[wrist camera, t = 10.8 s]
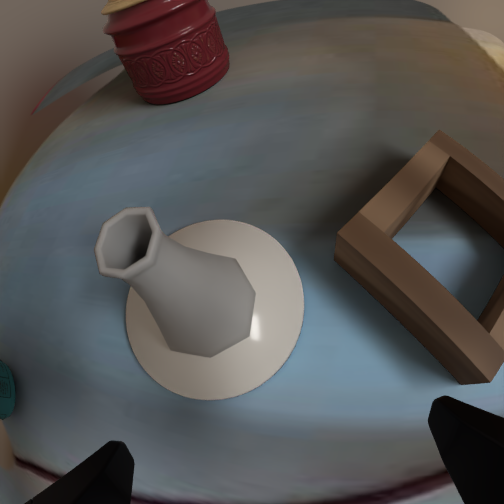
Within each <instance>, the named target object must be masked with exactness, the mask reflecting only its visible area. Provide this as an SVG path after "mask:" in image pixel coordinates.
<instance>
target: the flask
mask: <svg viewBox="0 0 504 504" xmlns="http://www.w3.org/2000/svg"><path fill="white" fill-rule="evenodd" d="M94 252H95V256H96V261H97V265H98V269H99V273H100V274H101V275H102V276H105V277H112V278H120V279H122V280H123V281H125V282H126V283H128V284H129V285H130V286H131V287H132V288H133V289H134V290H135V291H136V293H137V294H138V295H139V296H140V297H141V298H142V299H143V300H144V301H145V303H146V305H147V307H148V309H149V311H150V312H151V314H152V316H153V318H154V320H155V321H156V323H157V325H158V327H159V329H160V331H161V333H162V335H163V337H164V339H165V341H166V343H167V345H168V347H169V348H170V350H171V351H176V352H181V353H186V354H192V355H197V356H203V357H209V358H211V357H213V356H215V355H217V354H219V353H221V352H222V351H224V350H226V349H228V348H230V347H231V346H233V345H235V344H237V343H239V342H240V341H242V340H244V339H246V338H248V337H249V336H250V330H251V324H252V317H253V310H254V303H255V296H256V292H255V290H254V289H253V287H252V285H251V284H250V282H249V280H248V279H247V277H246V275H245V273H244V272H243V270H242V268H241V267H240V265H239V263H238V261H237V260H236V259H235V258H231V257H226V256H221V255H216V254H211V253H207V252H203V251H200V250H196V249H192V248H189V247H185V246H183V245H182V244H180V243H178V242H176V241H175V240H173V239H171V238H170V237H168V236H166V235H165V234H164V233H163V232H162V231H161V229H160V226H159V224H158V222H157V219H156V217H155V214H154V212H153V210H152V209H151V208H150V207H131V208H125V209H123V210H122V211H120V212H119V213H117V214H116V215H114V216H113V217H111V218H110V219H108V220H107V221H105V222H104V223H103V225H102V227H101V230H100V233H99V236H98V239H97V242H96V245H95V248H94Z"/></svg>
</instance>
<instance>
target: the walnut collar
mask: <svg viewBox="0 0 504 504" xmlns="http://www.w3.org/2000/svg"><path fill="white" fill-rule="evenodd" d="M435 188H437V189H438V190H440V191H441V192H442V193H443V194H445V195H446V196H447V197H448V198H450V199H451V200H452V201H453V202H454V203H455V204H457V205H458V206H459V207H460V208H461V209H462V210H464V211H465V212H466V213H467V214H468V215H469V216H470V217H472V218H473V219H474V220H475V221H476V222H477V223H478V224H479V225H480V226H481V227H482V228H483V229H485V230H486V231H487V232H488V233H489V234H490V235H491V236H492V237H493V238H494V239H495V240H496V241H497V242H498V243H499V244H500V245H501V246H502V247H503V248H504V179H503V178H501V177H500V176H499V175H498V174H497V173H496V172H495V171H493V170H492V169H491V168H490V167H489V166H487V165H486V164H485V163H484V162H482V161H481V160H480V159H479V158H477V157H476V156H475V155H474V154H472V153H471V152H470V151H468V150H467V149H466V148H464V147H463V146H462V145H460V144H459V143H458V142H456V141H455V140H454V139H452V138H451V137H449V136H448V135H446V134H445V133H444V132H442V131H441V130H438V131H437V132H436V133H435V134H434V136H433V137H432V138H431V139H430V140H429V141H428V142H427V143H426V144H425V145H424V146H423V147H422V148H421V149H420V150H419V151H418V152H417V153H416V154H415V156H414V157H413V158H412V159H411V160H410V161H409V162H408V163H407V164H406V165H405V166H404V167H403V168H402V169H401V170H400V171H399V172H398V173H397V174H396V175H395V176H394V177H393V178H392V179H391V180H390V181H389V182H388V183H387V184H386V185H385V186H384V187H383V188H382V189H381V190H380V191H379V192H378V193H377V194H376V195H375V196H374V197H373V198H372V199H371V200H370V201H369V202H368V203H367V204H366V205H365V206H364V207H363V208H362V209H361V210H360V211H359V212H358V213H357V214H356V215H355V216H354V217H353V218H352V219H351V220H350V221H349V222H348V223H347V224H346V225H344V226H343V227H342V228H341V229H340V230H339V231H338V232H337V237H336V245H335V253H334V261H336V262H337V263H338V264H339V265H340V266H341V267H342V268H343V269H344V270H345V271H346V272H348V273H349V274H350V275H351V276H352V277H353V278H354V279H355V280H356V281H357V282H358V283H359V284H361V285H362V286H363V287H364V288H365V289H366V290H367V291H368V292H369V293H370V294H371V295H372V296H373V297H374V298H375V299H376V300H377V301H379V302H380V303H381V304H382V305H383V306H384V307H385V308H386V309H387V310H388V311H389V312H390V313H391V314H392V315H393V316H394V317H395V318H396V319H397V320H398V321H399V322H400V323H401V324H402V325H403V326H404V327H405V328H406V329H407V330H408V331H409V332H410V333H411V334H412V335H413V336H414V337H415V338H416V339H417V340H418V341H419V342H420V343H421V344H422V345H423V346H424V347H425V348H426V349H427V350H428V351H429V352H430V353H431V354H432V355H433V356H434V357H435V358H436V359H437V360H438V361H439V362H440V363H441V364H442V365H443V366H444V367H445V368H446V369H447V370H448V371H449V372H450V373H451V374H452V375H453V377H454V378H455V379H456V380H457V381H458V382H459V383H460V384H461V385H468V384H480V383H490V382H491V381H492V380H493V378H494V376H495V375H496V373H497V372H498V370H499V369H500V367H501V365H502V364H503V362H504V275H503V277H502V279H501V281H500V282H499V284H498V286H497V288H496V290H495V292H494V293H493V295H492V297H491V299H490V300H489V302H488V304H487V305H486V307H485V309H484V310H483V312H482V314H481V315H480V317H479V318H478V320H476V319H475V318H474V317H473V316H472V315H471V314H470V313H469V312H468V311H467V310H466V308H465V307H464V306H463V305H462V304H461V303H460V302H459V301H458V300H457V299H456V298H455V297H454V296H453V295H452V294H451V293H450V292H449V291H448V290H447V289H446V288H445V287H444V286H442V285H441V284H440V283H439V282H438V281H437V280H436V279H435V278H434V277H433V276H432V275H431V274H430V273H429V272H428V271H427V270H426V269H425V268H423V267H422V266H421V265H420V264H419V263H418V262H417V261H416V260H415V259H414V258H412V257H411V256H410V255H409V254H408V253H407V252H406V251H405V250H404V249H402V248H401V247H400V246H399V245H398V244H397V243H396V242H394V241H393V240H392V238H393V237H394V236H395V235H396V234H397V233H398V231H399V230H400V229H401V228H402V227H403V226H404V225H405V223H406V222H407V221H408V220H409V219H410V218H411V216H412V215H413V214H414V213H415V212H416V211H417V209H418V208H419V207H420V206H421V205H422V203H423V202H424V201H425V200H426V199H427V197H428V196H429V195H430V194H431V193H432V191H433V190H434V189H435Z"/></svg>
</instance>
